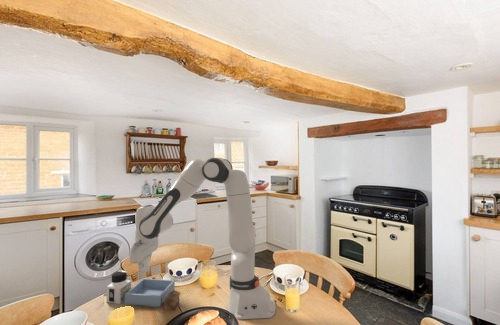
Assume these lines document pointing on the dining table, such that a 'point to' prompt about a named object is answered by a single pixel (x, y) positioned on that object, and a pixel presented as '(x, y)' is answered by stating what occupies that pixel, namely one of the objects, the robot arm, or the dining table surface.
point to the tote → (149, 292)
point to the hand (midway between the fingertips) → (144, 265)
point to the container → (118, 287)
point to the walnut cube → (171, 301)
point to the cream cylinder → (145, 264)
